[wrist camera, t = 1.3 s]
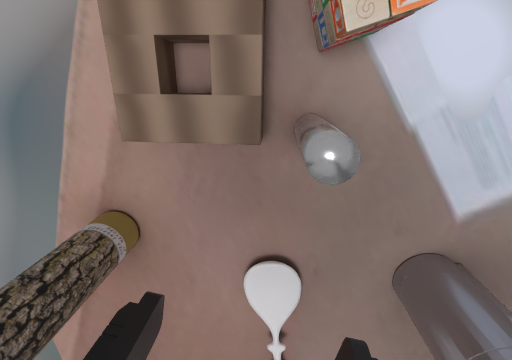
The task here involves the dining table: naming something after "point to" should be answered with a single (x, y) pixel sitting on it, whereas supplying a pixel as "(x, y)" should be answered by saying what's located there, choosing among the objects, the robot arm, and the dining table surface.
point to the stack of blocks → (357, 18)
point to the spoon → (273, 296)
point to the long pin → (326, 150)
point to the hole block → (164, 77)
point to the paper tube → (61, 284)
